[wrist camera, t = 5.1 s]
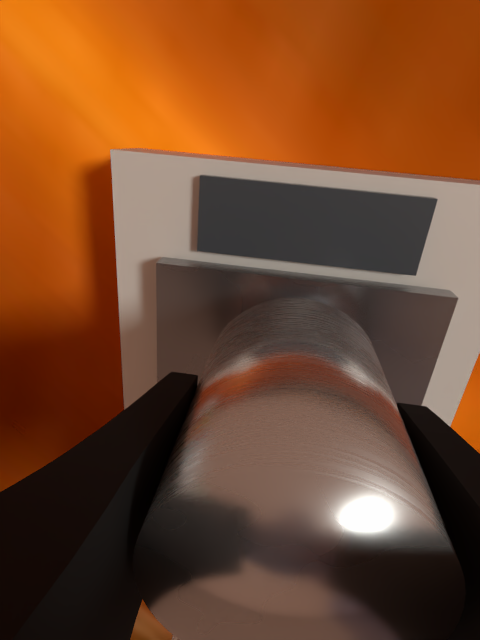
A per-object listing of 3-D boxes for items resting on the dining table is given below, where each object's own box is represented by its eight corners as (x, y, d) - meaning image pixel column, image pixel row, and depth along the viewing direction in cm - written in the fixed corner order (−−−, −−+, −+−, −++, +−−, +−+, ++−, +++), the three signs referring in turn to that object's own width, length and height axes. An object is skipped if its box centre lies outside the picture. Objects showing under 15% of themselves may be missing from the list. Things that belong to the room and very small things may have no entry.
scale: (385, 510, 17) (400, 565, 15) (147, 473, 18) (126, 520, 16) (499, 182, 12) (550, 192, 9) (139, 148, 12) (105, 149, 10)
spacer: (403, 319, 9) (532, 522, 4) (349, 456, 11) (395, 709, 6) (222, 281, 9) (144, 434, 4) (198, 422, 11) (124, 642, 6)
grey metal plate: (362, 553, 15) (365, 568, 15) (162, 520, 16) (158, 533, 15) (449, 290, 11) (458, 297, 10) (162, 256, 11) (155, 262, 11)
